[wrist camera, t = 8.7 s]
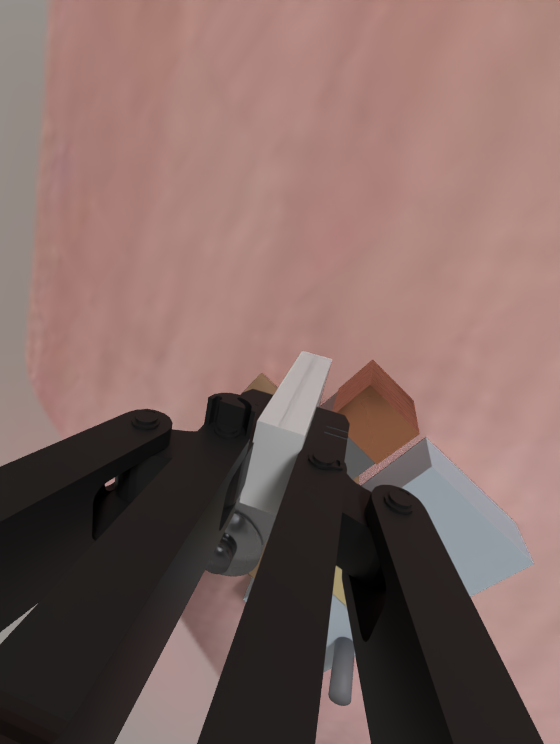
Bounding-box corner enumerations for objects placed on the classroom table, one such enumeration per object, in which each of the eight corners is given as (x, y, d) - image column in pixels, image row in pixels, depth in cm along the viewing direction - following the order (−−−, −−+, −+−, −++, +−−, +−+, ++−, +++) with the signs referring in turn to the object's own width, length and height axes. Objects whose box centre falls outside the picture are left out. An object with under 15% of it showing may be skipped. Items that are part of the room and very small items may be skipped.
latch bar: (248, 539, 21) (218, 606, 17) (201, 494, 21) (160, 551, 17) (422, 409, 17) (433, 461, 13) (363, 350, 16) (357, 384, 13)
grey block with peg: (515, 522, 22) (559, 618, 16) (329, 629, 28) (315, 726, 22) (425, 437, 21) (440, 505, 16) (257, 563, 27) (225, 645, 22)
